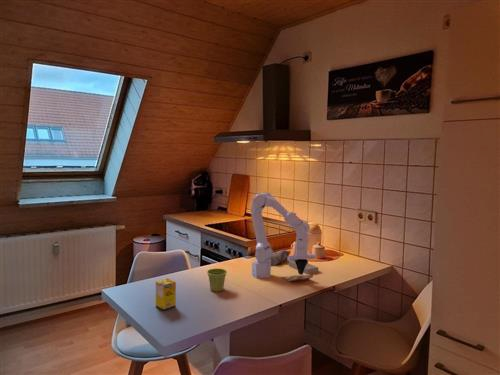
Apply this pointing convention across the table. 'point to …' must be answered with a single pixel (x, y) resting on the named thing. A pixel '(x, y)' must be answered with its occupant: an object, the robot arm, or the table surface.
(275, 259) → the decorative bottle
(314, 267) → the brick
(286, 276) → the laid board
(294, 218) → the robot arm
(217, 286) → the plant pot
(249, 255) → the table surface
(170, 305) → the supplement box
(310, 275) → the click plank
